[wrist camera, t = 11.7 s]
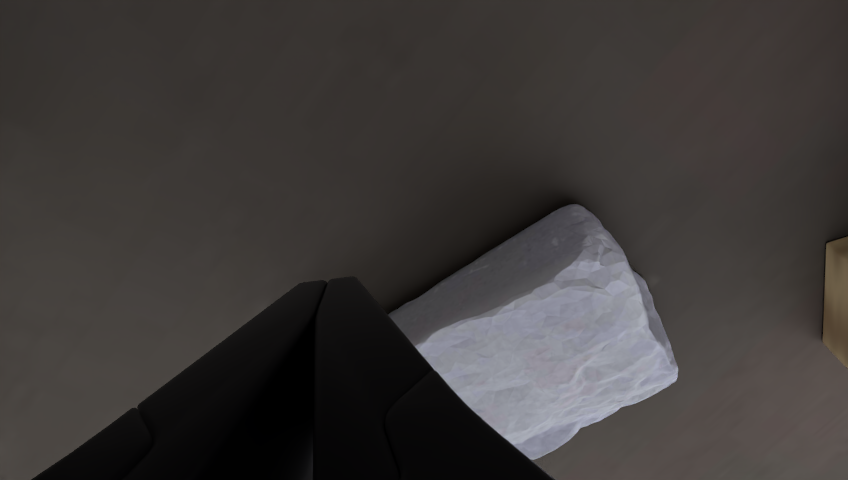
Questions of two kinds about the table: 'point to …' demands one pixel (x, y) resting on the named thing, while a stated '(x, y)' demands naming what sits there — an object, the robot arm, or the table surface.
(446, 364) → the stone block
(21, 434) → the table surface
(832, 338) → the birch block
